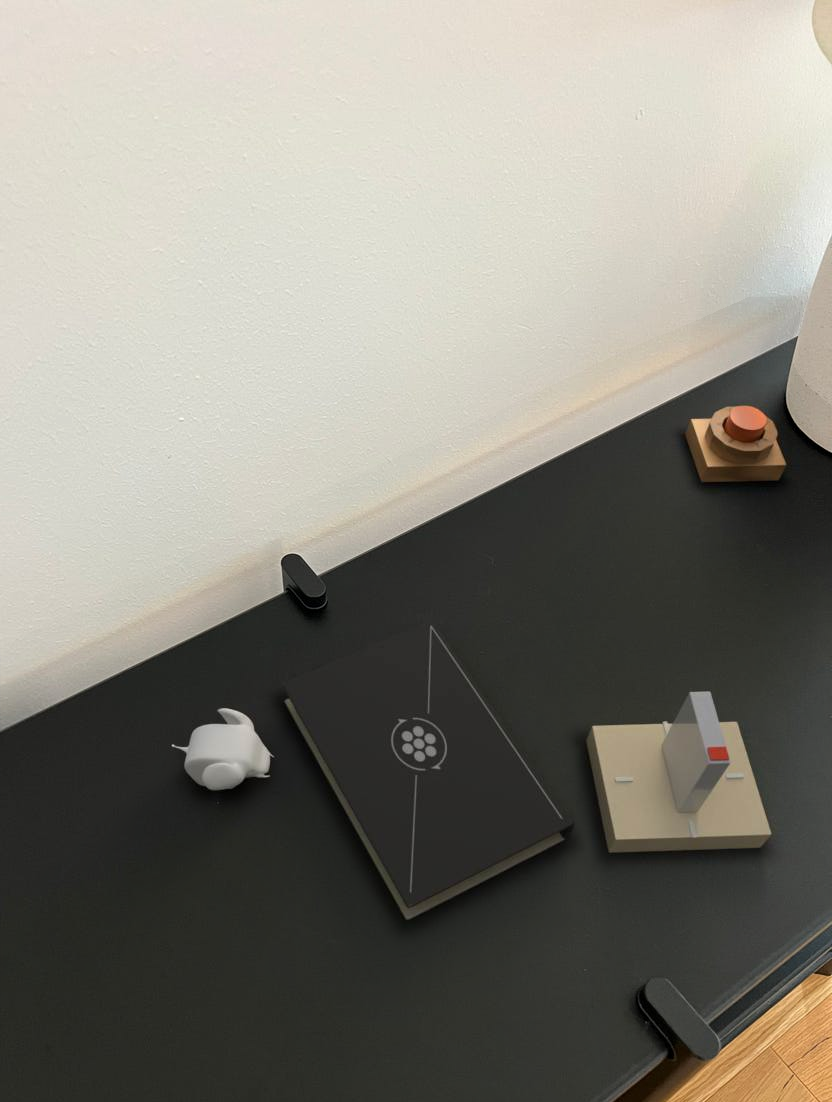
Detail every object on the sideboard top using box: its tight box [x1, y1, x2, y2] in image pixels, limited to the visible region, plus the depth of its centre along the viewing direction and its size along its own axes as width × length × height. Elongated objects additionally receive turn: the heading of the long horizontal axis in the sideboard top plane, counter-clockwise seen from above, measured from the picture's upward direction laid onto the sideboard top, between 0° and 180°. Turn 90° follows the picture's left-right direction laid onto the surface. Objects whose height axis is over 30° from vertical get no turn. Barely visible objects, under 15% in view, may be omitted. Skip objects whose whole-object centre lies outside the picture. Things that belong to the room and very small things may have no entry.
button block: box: [684, 405, 787, 483], centre depth 100 cm, size 8×7×4 cm
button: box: [725, 405, 767, 443], centre depth 98 cm, size 4×4×2 cm
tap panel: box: [585, 721, 772, 854], centre depth 78 cm, size 12×10×3 cm
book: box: [282, 620, 575, 922], centre depth 80 cm, size 22×15×3 cm
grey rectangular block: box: [662, 691, 731, 812], centre depth 74 cm, size 6×2×8 cm, turn 2°
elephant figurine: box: [171, 707, 275, 791], centre depth 78 cm, size 7×8×6 cm
